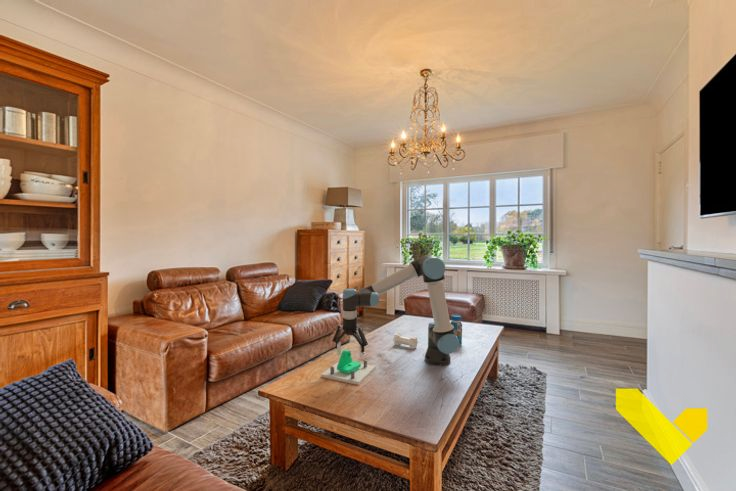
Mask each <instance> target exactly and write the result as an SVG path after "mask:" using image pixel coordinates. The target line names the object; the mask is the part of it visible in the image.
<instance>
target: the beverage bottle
mask: <svg viewBox="0 0 736 491" xmlns="http://www.w3.org/2000/svg"><path fill="white" fill-rule="evenodd" d="M450 316H451V317H450V319H451V320H450V324H451V325H453V326H454V331H455V335H456V336H457V338H458V340H459V347H460V346H462V344H463V324H462V322H461V321H462V316H461V315H460V314H451V315H450Z"/></svg>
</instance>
